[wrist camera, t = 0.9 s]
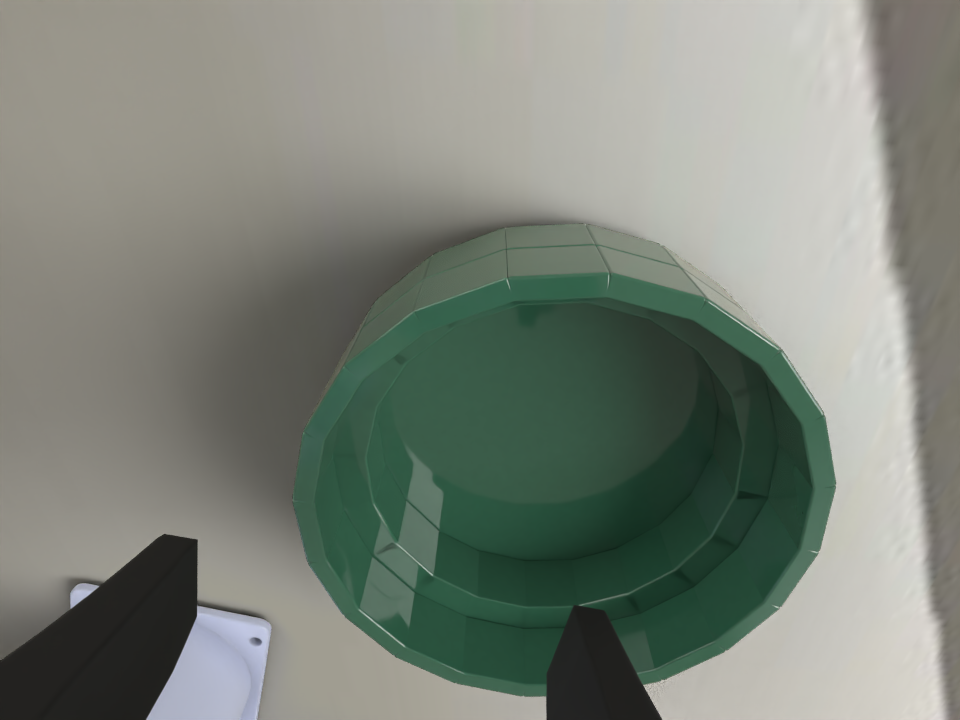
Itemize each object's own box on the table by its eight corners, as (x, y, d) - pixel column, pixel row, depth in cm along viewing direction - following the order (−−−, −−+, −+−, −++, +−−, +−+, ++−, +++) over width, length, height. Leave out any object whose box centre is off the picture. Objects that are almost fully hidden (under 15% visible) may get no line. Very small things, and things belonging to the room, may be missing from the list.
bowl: (660, 608, 25) (696, 731, 20) (312, 534, 23) (268, 647, 19) (841, 288, 18) (951, 363, 14) (379, 161, 17) (338, 199, 13)
